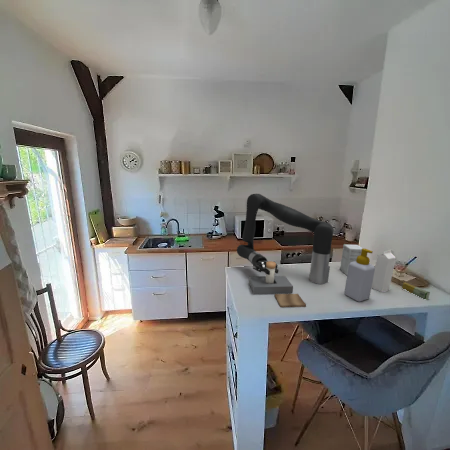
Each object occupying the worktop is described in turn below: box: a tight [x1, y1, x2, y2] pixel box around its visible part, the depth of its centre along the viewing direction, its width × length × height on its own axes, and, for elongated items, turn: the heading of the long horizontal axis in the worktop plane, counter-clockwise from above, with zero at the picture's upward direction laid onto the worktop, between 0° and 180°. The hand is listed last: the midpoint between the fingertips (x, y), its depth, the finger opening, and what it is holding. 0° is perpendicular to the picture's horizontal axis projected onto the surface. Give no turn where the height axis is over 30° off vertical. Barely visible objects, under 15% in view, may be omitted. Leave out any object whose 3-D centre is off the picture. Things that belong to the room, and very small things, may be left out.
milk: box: [371, 249, 397, 293], centre depth 131 cm, size 6×6×22 cm
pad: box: [273, 293, 307, 308], centre depth 119 cm, size 12×10×1 cm
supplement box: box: [339, 243, 363, 276], centre depth 152 cm, size 10×9×17 cm
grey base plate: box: [248, 275, 294, 295], centre depth 130 cm, size 20×12×4 cm, turn 96°
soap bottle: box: [343, 247, 375, 302], centre depth 122 cm, size 9×9×25 cm
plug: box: [265, 260, 277, 284], centre depth 129 cm, size 5×5×14 cm
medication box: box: [401, 281, 431, 300], centre depth 130 cm, size 12×3×4 cm, turn 22°
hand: (273, 272), depth 126 cm, fingers closed on plug, 4 cm apart
